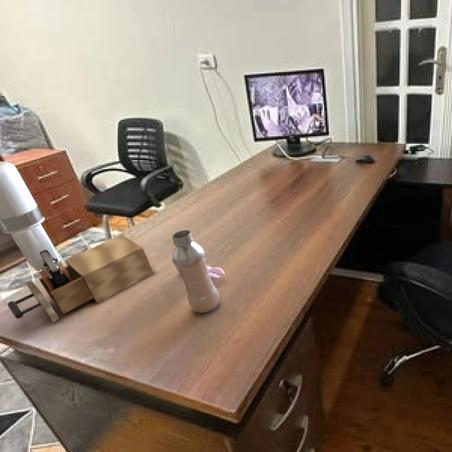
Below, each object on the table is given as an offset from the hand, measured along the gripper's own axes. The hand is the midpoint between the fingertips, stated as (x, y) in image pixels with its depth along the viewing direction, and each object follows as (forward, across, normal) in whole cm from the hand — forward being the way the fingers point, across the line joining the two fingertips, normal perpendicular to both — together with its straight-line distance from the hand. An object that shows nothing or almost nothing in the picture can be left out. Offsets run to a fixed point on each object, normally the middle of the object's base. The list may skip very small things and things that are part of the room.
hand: (60, 284), depth 85 cm
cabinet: (+6, 0, +11) cm, 13 cm away
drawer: (+5, 0, -1) cm, 5 cm away
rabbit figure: (+7, +21, +25) cm, 33 cm away
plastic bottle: (+6, +32, +19) cm, 37 cm away
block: (0, 0, 0) cm, 0 cm away
